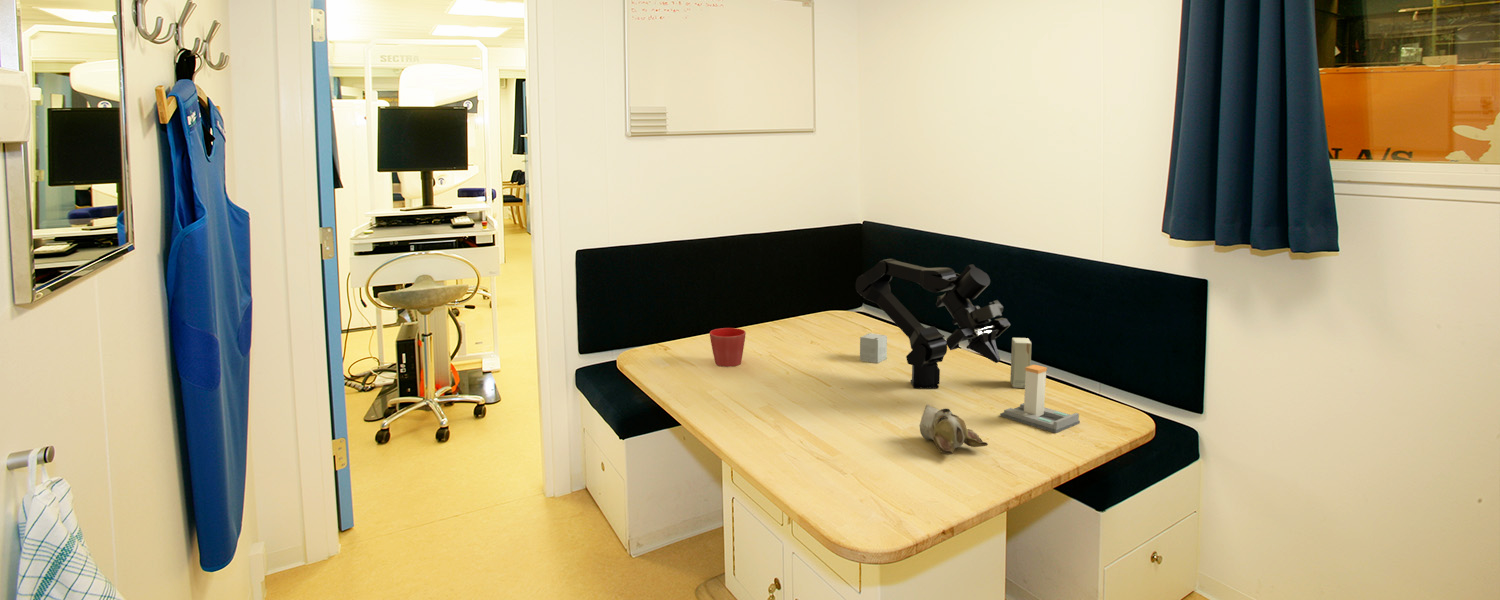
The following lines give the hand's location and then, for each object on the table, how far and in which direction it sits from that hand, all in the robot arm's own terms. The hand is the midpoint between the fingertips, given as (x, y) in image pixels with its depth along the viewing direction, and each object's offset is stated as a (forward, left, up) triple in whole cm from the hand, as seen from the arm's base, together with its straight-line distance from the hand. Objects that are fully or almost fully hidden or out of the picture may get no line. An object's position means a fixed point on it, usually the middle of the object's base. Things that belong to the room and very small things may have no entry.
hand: (998, 361), depth 194 cm
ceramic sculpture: (-17, -25, -12) cm, 32 cm away
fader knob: (+7, -8, -11) cm, 15 cm away
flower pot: (-69, +39, -12) cm, 80 cm away
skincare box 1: (-26, +42, -12) cm, 51 cm away
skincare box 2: (+10, +17, -12) cm, 23 cm away
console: (+8, -9, -11) cm, 16 cm away
